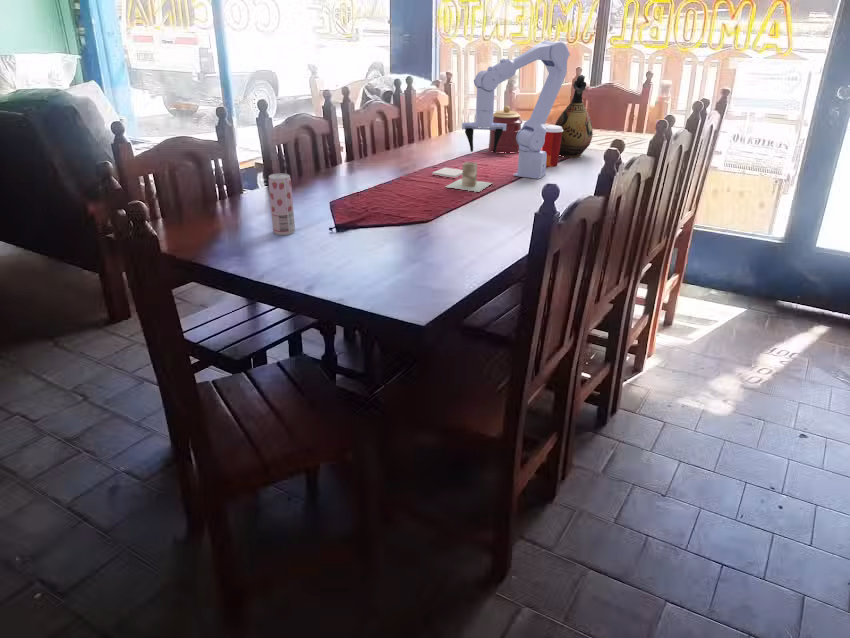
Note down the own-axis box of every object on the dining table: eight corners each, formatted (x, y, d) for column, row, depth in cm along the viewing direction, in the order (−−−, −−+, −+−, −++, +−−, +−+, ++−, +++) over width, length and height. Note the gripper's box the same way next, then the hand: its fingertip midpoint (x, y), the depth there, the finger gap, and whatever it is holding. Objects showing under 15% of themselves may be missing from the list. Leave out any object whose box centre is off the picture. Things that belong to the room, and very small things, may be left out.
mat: (492, 184, 222) (492, 183, 221) (478, 192, 212) (478, 191, 212) (460, 180, 227) (460, 178, 226) (444, 188, 217) (445, 186, 217)
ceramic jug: (590, 160, 255) (600, 78, 242) (549, 158, 258) (557, 77, 245) (589, 151, 270) (598, 73, 257) (551, 149, 273) (558, 72, 260)
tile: (467, 170, 235) (445, 167, 239) (455, 175, 228) (432, 172, 232) (467, 175, 236) (445, 171, 240) (454, 180, 229) (432, 176, 233)
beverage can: (285, 227, 179) (280, 172, 172) (299, 231, 176) (295, 175, 169) (268, 232, 175) (263, 176, 168) (282, 237, 172) (277, 179, 165)
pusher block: (476, 183, 220) (477, 162, 217) (474, 186, 217) (474, 165, 214) (464, 182, 221) (465, 161, 218) (462, 185, 218) (462, 164, 215)
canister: (509, 155, 263) (512, 109, 255) (482, 151, 270) (484, 106, 262) (526, 150, 272) (529, 105, 264) (499, 146, 279) (501, 102, 271)
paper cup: (559, 163, 251) (562, 125, 245) (560, 167, 244) (564, 128, 238) (538, 162, 252) (541, 124, 246) (539, 167, 245) (542, 128, 239)
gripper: (507, 108, 220) (505, 149, 226) (464, 107, 222) (462, 148, 228) (506, 111, 214) (504, 154, 220) (461, 110, 216) (460, 152, 222)
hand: (483, 151), depth 224 cm, fingers open, 7 cm apart
